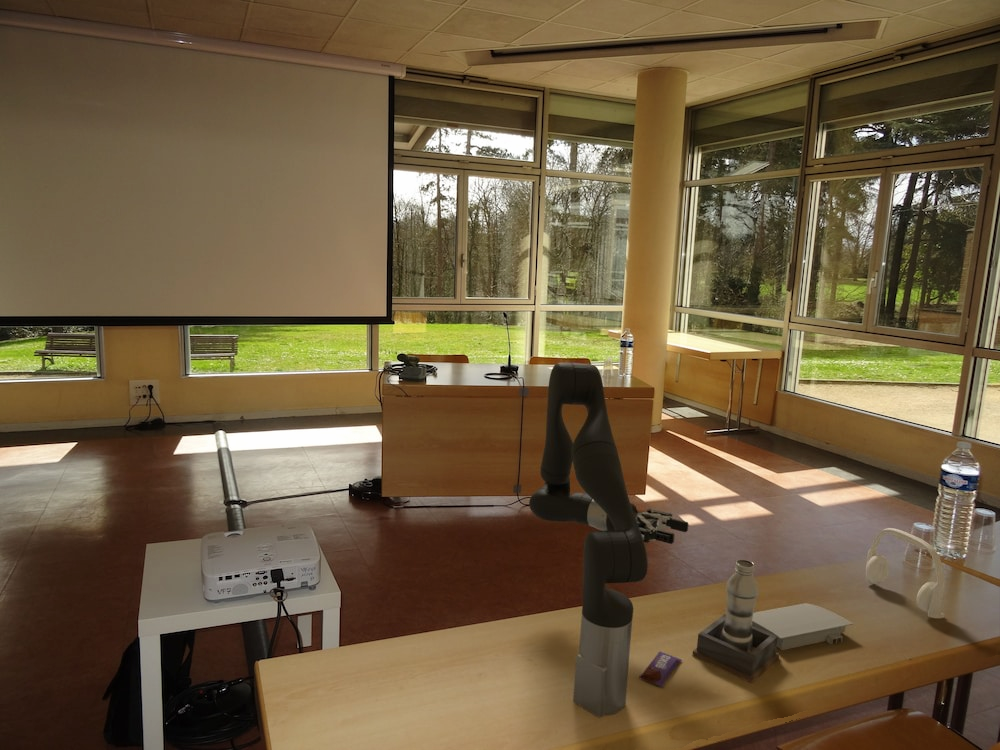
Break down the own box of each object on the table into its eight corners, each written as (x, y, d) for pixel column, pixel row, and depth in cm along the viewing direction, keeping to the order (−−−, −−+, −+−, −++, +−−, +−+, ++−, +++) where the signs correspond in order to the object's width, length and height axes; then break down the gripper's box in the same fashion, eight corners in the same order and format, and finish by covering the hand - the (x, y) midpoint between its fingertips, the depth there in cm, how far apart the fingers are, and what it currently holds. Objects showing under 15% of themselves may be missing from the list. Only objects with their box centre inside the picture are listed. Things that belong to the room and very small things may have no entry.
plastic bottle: (754, 649, 149) (764, 561, 145) (747, 664, 143) (758, 573, 139) (723, 639, 152) (733, 553, 148) (715, 654, 146) (725, 565, 143)
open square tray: (751, 683, 139) (754, 660, 138) (692, 655, 147) (694, 633, 147) (778, 657, 148) (781, 636, 147) (721, 632, 157) (723, 612, 156)
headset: (856, 584, 183) (866, 520, 180) (877, 581, 186) (887, 517, 183) (925, 623, 165) (936, 552, 162) (947, 619, 167) (959, 549, 164)
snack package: (659, 647, 148) (682, 655, 145) (658, 655, 148) (681, 664, 145) (638, 673, 138) (662, 682, 135) (637, 681, 138) (661, 691, 136)
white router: (861, 642, 156) (863, 626, 156) (779, 660, 148) (782, 643, 147) (809, 608, 170) (811, 594, 170) (732, 623, 162) (733, 607, 161)
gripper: (599, 507, 153) (670, 525, 144) (625, 492, 164) (693, 507, 156) (596, 540, 154) (667, 560, 145) (623, 522, 166) (690, 539, 157)
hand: (680, 533), depth 150 cm, fingers open, 8 cm apart
